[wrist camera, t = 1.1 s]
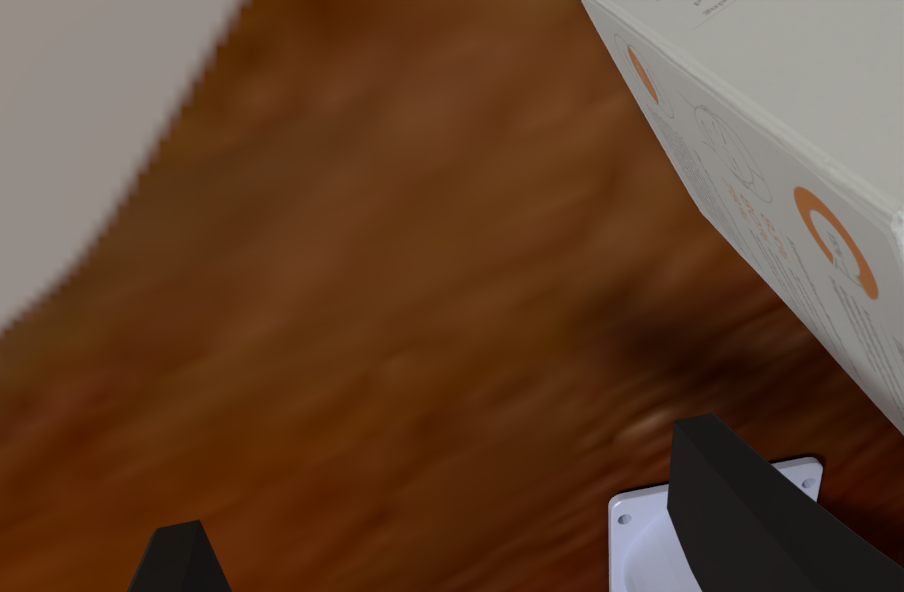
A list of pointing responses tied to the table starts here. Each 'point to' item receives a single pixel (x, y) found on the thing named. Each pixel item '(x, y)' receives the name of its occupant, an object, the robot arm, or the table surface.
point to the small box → (788, 152)
